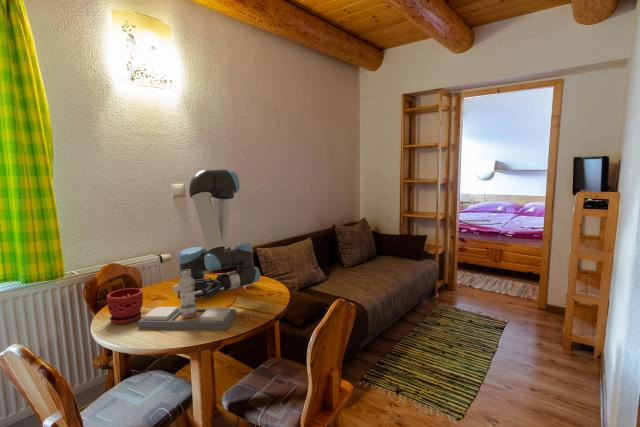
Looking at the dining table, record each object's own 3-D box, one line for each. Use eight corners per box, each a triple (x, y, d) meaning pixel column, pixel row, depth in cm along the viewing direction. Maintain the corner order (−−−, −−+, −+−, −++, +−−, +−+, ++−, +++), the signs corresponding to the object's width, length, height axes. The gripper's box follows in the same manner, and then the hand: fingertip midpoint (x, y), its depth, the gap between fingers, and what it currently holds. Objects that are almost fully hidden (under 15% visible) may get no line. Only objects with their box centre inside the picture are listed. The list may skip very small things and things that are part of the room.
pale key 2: (209, 311, 143) (208, 307, 142) (230, 311, 142) (230, 307, 142) (200, 321, 133) (200, 316, 133) (223, 321, 133) (223, 317, 133)
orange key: (183, 316, 143) (183, 312, 143) (204, 316, 143) (204, 312, 143) (172, 326, 134) (172, 321, 134) (195, 326, 134) (195, 322, 133)
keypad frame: (155, 314, 146) (155, 308, 145) (236, 315, 144) (236, 309, 144) (138, 328, 133) (137, 321, 132) (226, 329, 131) (226, 322, 131)
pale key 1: (157, 311, 144) (156, 306, 143) (178, 311, 143) (178, 306, 143) (144, 320, 134) (144, 316, 134) (167, 321, 134) (167, 316, 134)
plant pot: (140, 323, 137) (138, 296, 136) (104, 328, 134) (101, 299, 132) (147, 311, 150) (145, 285, 148) (114, 314, 146) (112, 288, 145)
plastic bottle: (200, 314, 140) (198, 268, 138) (189, 321, 134) (186, 273, 131) (188, 312, 142) (185, 267, 140) (176, 319, 136) (173, 272, 133)
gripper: (241, 296, 140) (191, 311, 126) (215, 282, 158) (169, 294, 144) (241, 279, 139) (190, 292, 125) (214, 267, 157) (168, 277, 143)
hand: (179, 293), depth 135 cm, fingers open, 13 cm apart
